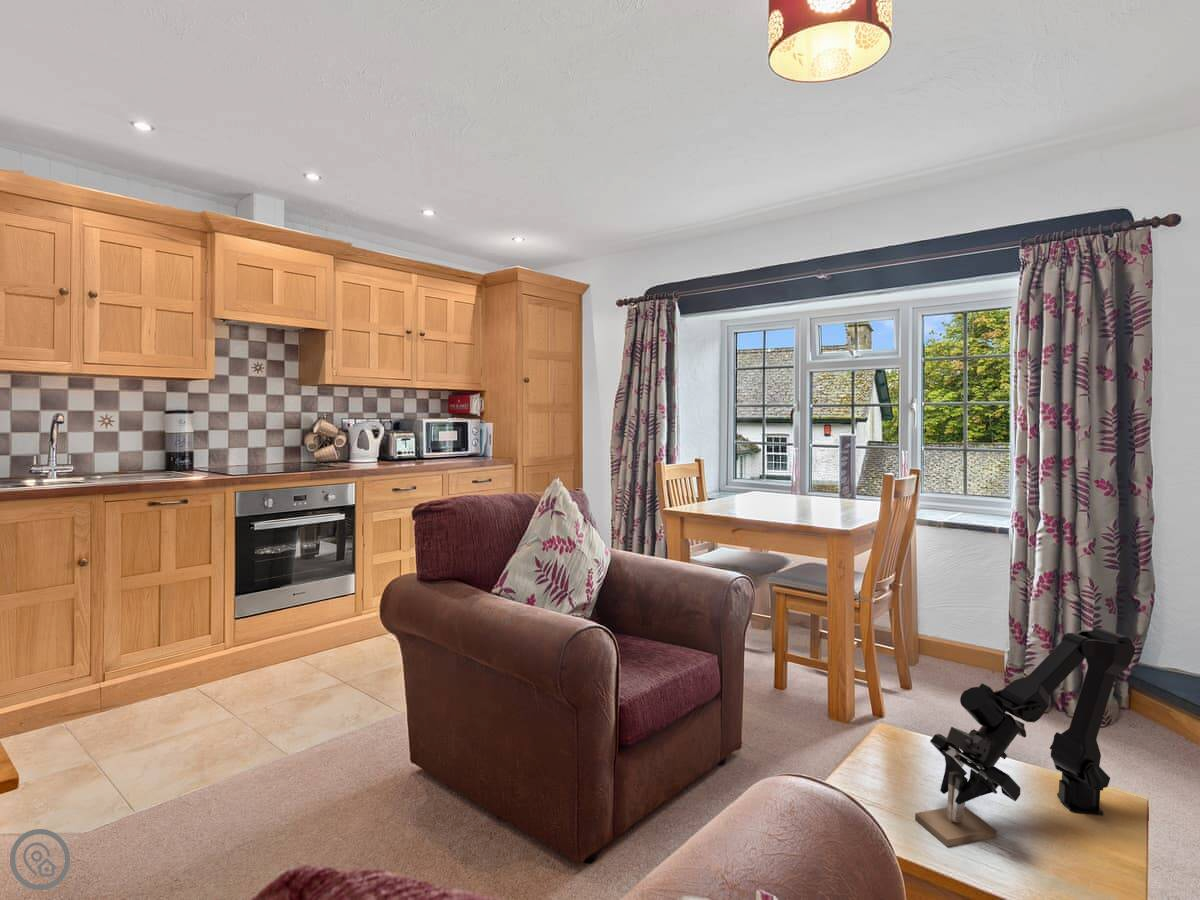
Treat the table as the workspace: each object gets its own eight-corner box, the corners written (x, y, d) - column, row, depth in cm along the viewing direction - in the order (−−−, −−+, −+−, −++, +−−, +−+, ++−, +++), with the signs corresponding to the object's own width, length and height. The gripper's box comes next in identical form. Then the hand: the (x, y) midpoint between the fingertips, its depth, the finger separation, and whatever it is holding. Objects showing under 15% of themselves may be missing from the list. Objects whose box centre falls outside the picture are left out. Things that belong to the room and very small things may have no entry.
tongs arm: (959, 817, 138) (963, 775, 137) (963, 820, 137) (967, 778, 136) (951, 819, 138) (955, 777, 136) (955, 822, 137) (959, 780, 135)
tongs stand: (962, 811, 144) (963, 759, 143) (996, 837, 135) (998, 781, 134) (915, 819, 141) (916, 766, 140) (947, 847, 132) (949, 790, 131)
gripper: (937, 697, 147) (895, 752, 145) (1011, 736, 129) (963, 800, 127) (965, 727, 150) (924, 782, 147) (1041, 769, 132) (995, 833, 129)
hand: (949, 797), depth 137 cm, fingers open, 3 cm apart
